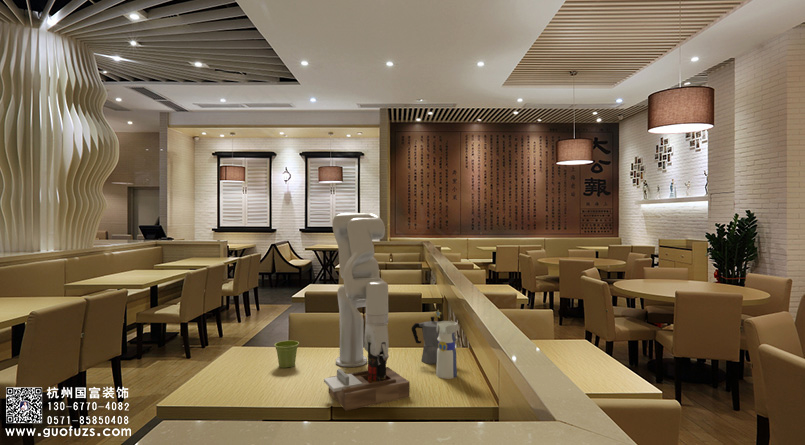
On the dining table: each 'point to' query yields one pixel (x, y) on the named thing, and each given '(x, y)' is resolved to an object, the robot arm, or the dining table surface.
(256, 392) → the dining table surface
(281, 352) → the plant pot
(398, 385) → the socket block
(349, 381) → the panel
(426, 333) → the coffeepot
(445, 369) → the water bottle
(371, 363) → the deodorant
